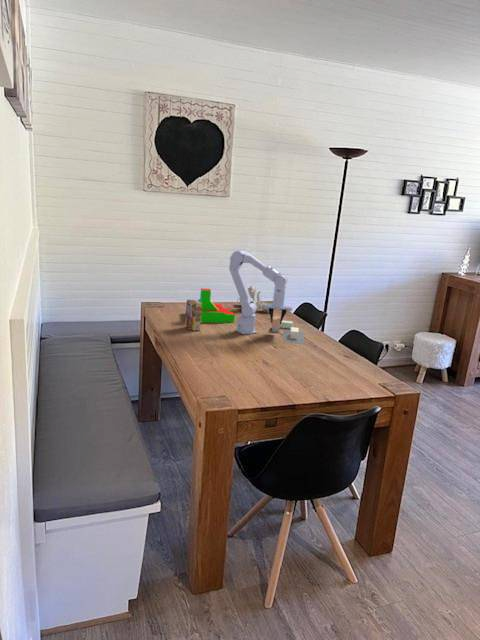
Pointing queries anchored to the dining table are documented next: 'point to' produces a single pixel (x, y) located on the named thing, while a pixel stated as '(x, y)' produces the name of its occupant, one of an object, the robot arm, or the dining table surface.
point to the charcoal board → (287, 339)
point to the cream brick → (294, 333)
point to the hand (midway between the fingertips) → (276, 322)
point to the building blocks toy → (214, 309)
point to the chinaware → (252, 295)
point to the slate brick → (275, 329)
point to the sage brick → (286, 324)
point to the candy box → (193, 314)
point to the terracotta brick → (276, 322)
